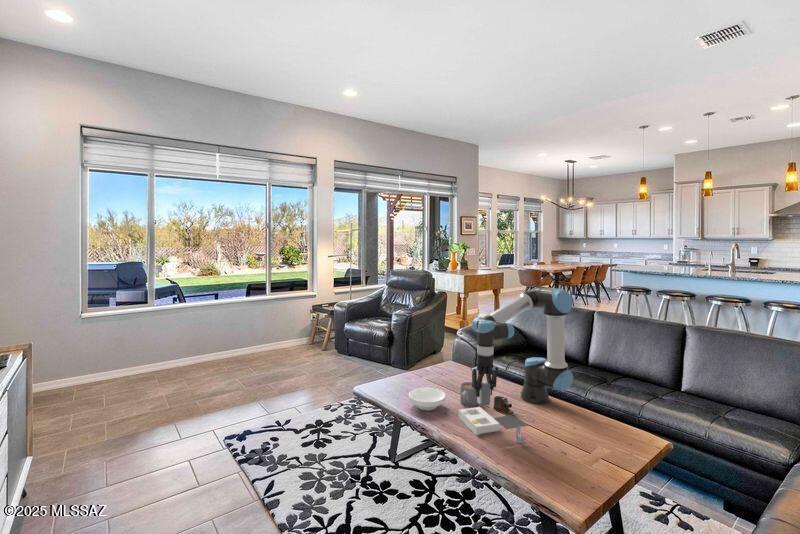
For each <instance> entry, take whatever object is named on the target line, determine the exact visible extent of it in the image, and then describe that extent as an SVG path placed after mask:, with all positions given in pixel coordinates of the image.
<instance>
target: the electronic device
mask: <svg viewBox="0 0 800 534" xmlns="http://www.w3.org/2000/svg"><path fill="white" fill-rule="evenodd" d="M512 407H513V404H512V403H510V402H509V401H508V398H507V397H506V396H500V395H497V396H494V397H493V410H495V411H498V412H501V413H504V414H506V415H510V414H512V413H514V410H513V409H510V408H512Z"/></svg>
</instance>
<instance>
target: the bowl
mask: <svg viewBox="0 0 800 534" xmlns="http://www.w3.org/2000/svg"><path fill="white" fill-rule="evenodd" d="M408 399H409V402H411V404H413V405H415V406H416V407H417V408H418V409H420V410H422V411H434V410H435V409H436V408H438V407H439V406H441V405H443V404H444V402H445V401H446V393H445V392H444V391H443V390H441V389H437V388H433V387H419V388H414V389H412V390H411V391H409V393H408Z"/></svg>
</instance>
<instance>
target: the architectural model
mask: <svg viewBox="0 0 800 534" xmlns="http://www.w3.org/2000/svg"><path fill="white" fill-rule="evenodd" d="M515 431H516V432H515V435H516V436H515V438H516V439H515V441H516V443H518V444H520V445H521V446H525V445H526V442H527V441H525V440H526V439H527V436H526V433H523V432H521V427H519V426H518V427H516V429H515Z"/></svg>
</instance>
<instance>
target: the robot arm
mask: <svg viewBox="0 0 800 534" xmlns="http://www.w3.org/2000/svg"><path fill="white" fill-rule="evenodd" d="M573 303H574V302H573V296H572V295H571V293H570V292H569V291H568V290H566V289H562V288H559V287H558V288H557V287H548V286H535V287H533V288H530V289H528V290H526V291H524V292H522V293H520V294H519V295H518V297H517V298H515V299H514V300H512V301H510V302H508V303H507V304H504V305H503V306H500V308H497V309H496V310H494V311H493V312H490V313H489V314H487V315H485V316H483V317H481V316H477V317H474V319H472V322H471V327H472V330H473V331H474V332H477V337H476V339H477V340H476V341H477V344H476V347H477V348H476V353H477V354H476V366H475V367H471V368H470V371H471V382H472V388H474V389H475V390H476V396H477V402H478V403H479V405H480V404H481V398H482V390H480V389H481V384H482V381H483V379H484V378H483V377H484V376H485V375H486V376H485V377H486V378H485V379H486V381H487V382H488V383H489V384H490V398H491V396H492V395H493V390H494V389H495V388H496V387H497V382H498V381H497V379H498V378H497V377H498V370H499V367H498V366H496V365H494V347H495V346H494V344H495V341H499V340H508V339H511V338H512V337H513V336H514V335H515V328H514V326H513V324H512V323H510V322H508V321H510V320H511V319H513V318H515V317H516V316H518V315H520V314H522V313H524V312H525V311H530V310H532V309H535V308H539V309H543V315H544V316H545V317H546V341H547V342H546V343H547V344H546V350H547V352H546V353H547V356H546V358H544V357H539V356H538V357H537V356H536V357H529V358H526V359H525V361H524V380H523V381H524V382H523V387H522V389H521V392H520V399H522V400H523V401H525V402H527V403H529V404H530V403H531V404H535V405H536V404H538V405H542V404H546V403H548V402H549V401H550V396H549V392H548V389H547V387H549V388H551V389H553V390H555V391H560V392H565V391H567V390H568V389H569V388H570V387H571V386H572V383H573V380H574V375H573V372H572V371H571V370H569V364H568V363H567V362H566V359H565V347H566V346H565V345H566V342H565V340H566V339H565V336H566V335H565V319H566V318H565V317H567V315H568V313H569V312H571V310H572V307H573Z"/></svg>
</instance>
